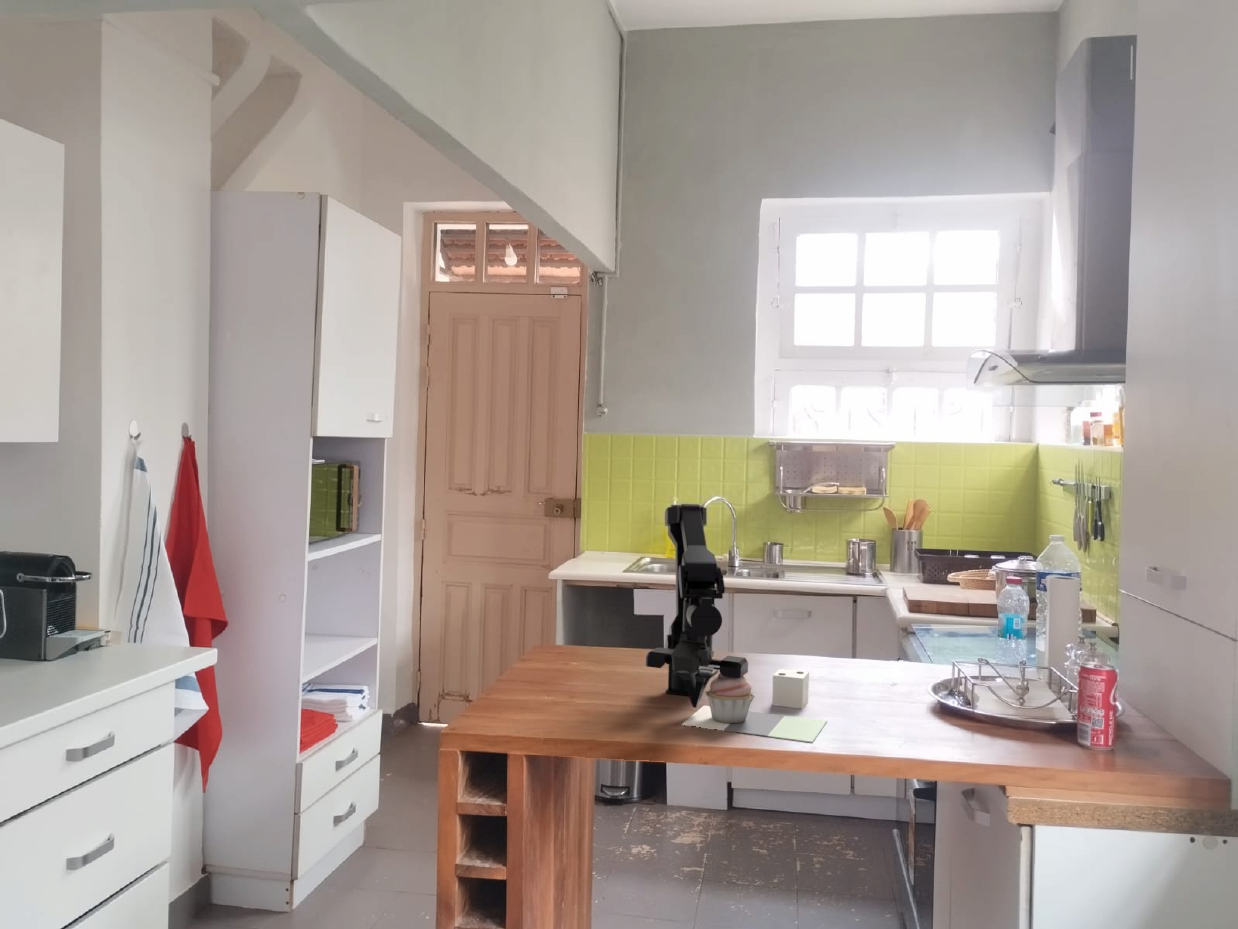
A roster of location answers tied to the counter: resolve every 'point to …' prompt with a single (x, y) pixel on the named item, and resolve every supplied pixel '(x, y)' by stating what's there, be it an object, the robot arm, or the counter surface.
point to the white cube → (790, 688)
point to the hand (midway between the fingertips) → (695, 707)
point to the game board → (762, 725)
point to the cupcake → (729, 699)
